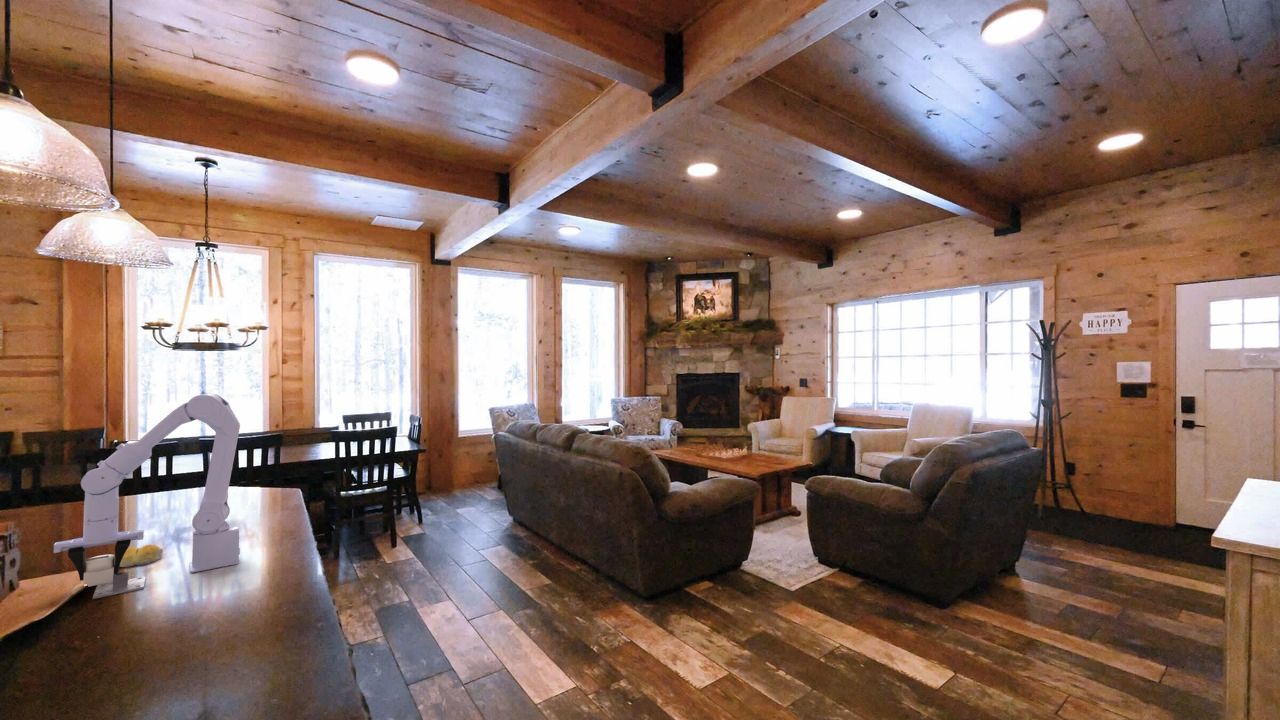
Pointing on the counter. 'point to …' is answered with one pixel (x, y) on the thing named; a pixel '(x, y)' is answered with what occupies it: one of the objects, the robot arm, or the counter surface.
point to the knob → (99, 570)
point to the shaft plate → (119, 590)
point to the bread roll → (141, 555)
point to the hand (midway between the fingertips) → (99, 576)
